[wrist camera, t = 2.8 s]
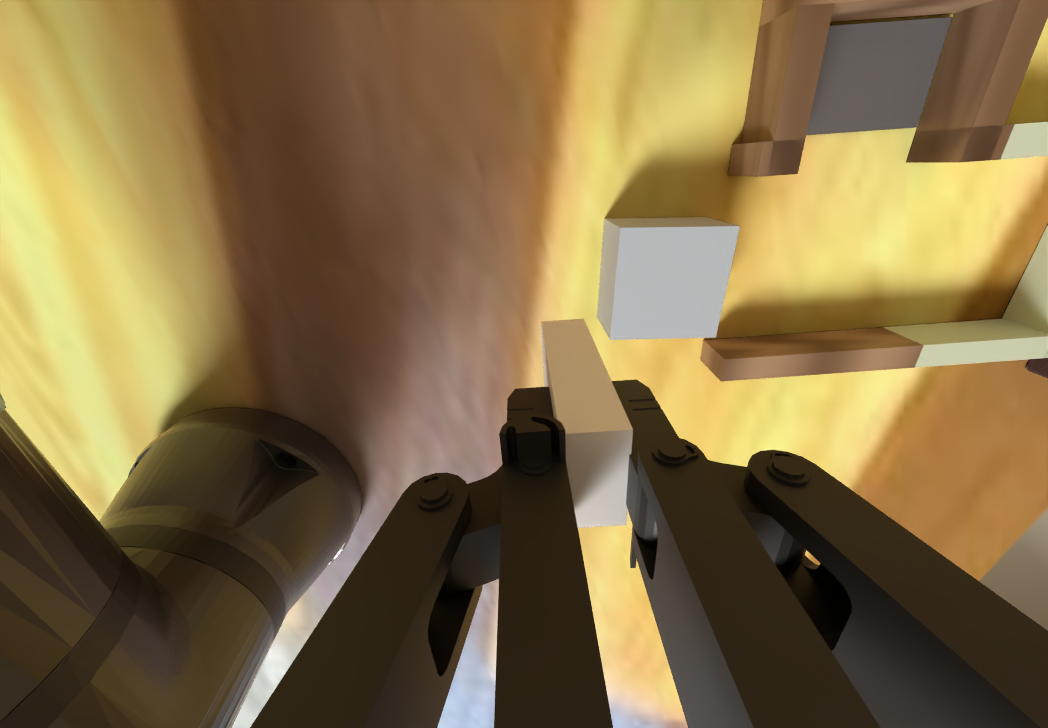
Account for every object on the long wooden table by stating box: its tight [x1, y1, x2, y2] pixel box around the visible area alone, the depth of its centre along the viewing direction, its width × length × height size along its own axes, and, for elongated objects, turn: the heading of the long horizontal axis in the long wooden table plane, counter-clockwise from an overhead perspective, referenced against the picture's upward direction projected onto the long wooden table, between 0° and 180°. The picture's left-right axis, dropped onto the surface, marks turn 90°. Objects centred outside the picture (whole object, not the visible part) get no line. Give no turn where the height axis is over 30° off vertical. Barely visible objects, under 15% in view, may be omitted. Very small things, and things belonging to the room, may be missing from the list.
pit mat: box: [806, 17, 952, 135], centre depth 21 cm, size 7×5×1 cm, turn 93°
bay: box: [883, 122, 1048, 367], centre depth 23 cm, size 10×13×3 cm
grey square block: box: [597, 217, 740, 340], centre depth 23 cm, size 6×6×4 cm
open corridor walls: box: [701, 0, 1048, 381], centre depth 22 cm, size 12×20×3 cm, turn 3°
